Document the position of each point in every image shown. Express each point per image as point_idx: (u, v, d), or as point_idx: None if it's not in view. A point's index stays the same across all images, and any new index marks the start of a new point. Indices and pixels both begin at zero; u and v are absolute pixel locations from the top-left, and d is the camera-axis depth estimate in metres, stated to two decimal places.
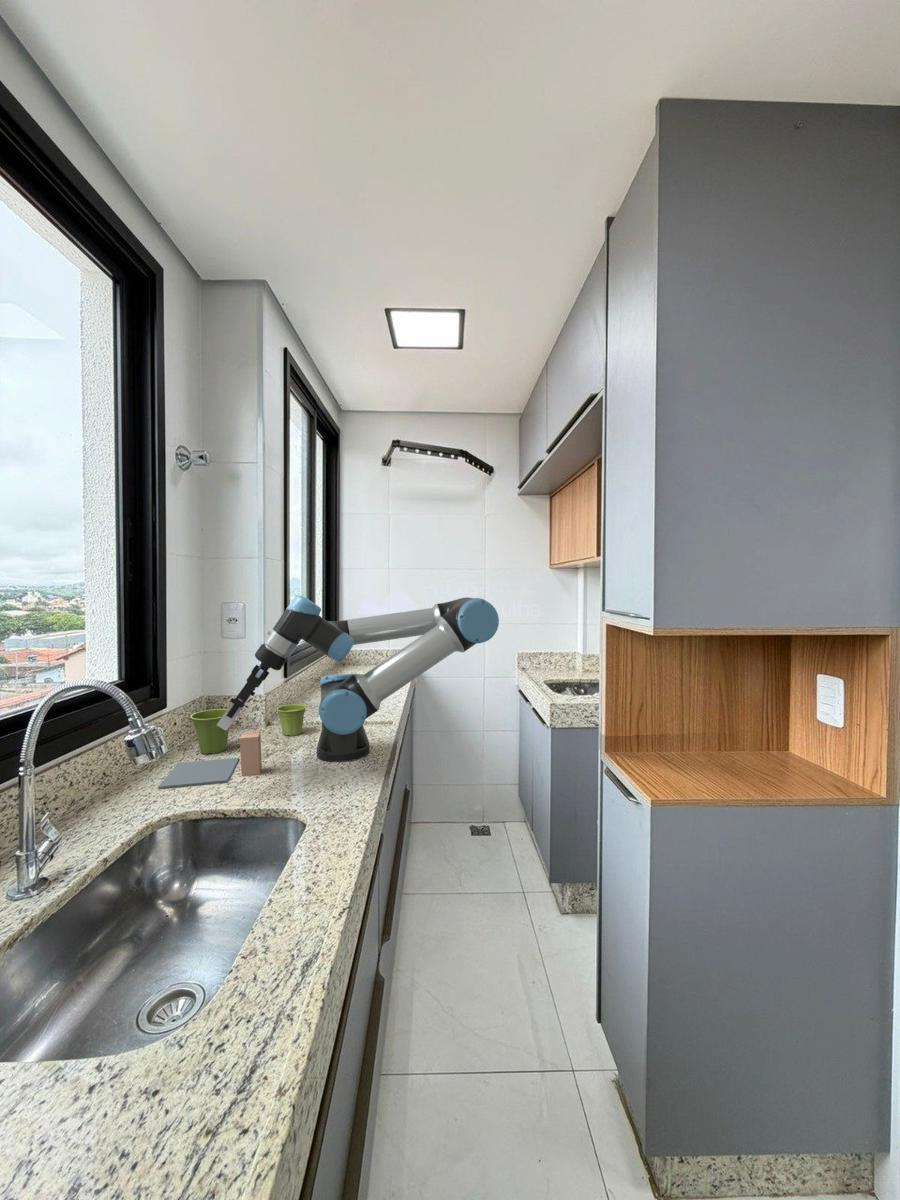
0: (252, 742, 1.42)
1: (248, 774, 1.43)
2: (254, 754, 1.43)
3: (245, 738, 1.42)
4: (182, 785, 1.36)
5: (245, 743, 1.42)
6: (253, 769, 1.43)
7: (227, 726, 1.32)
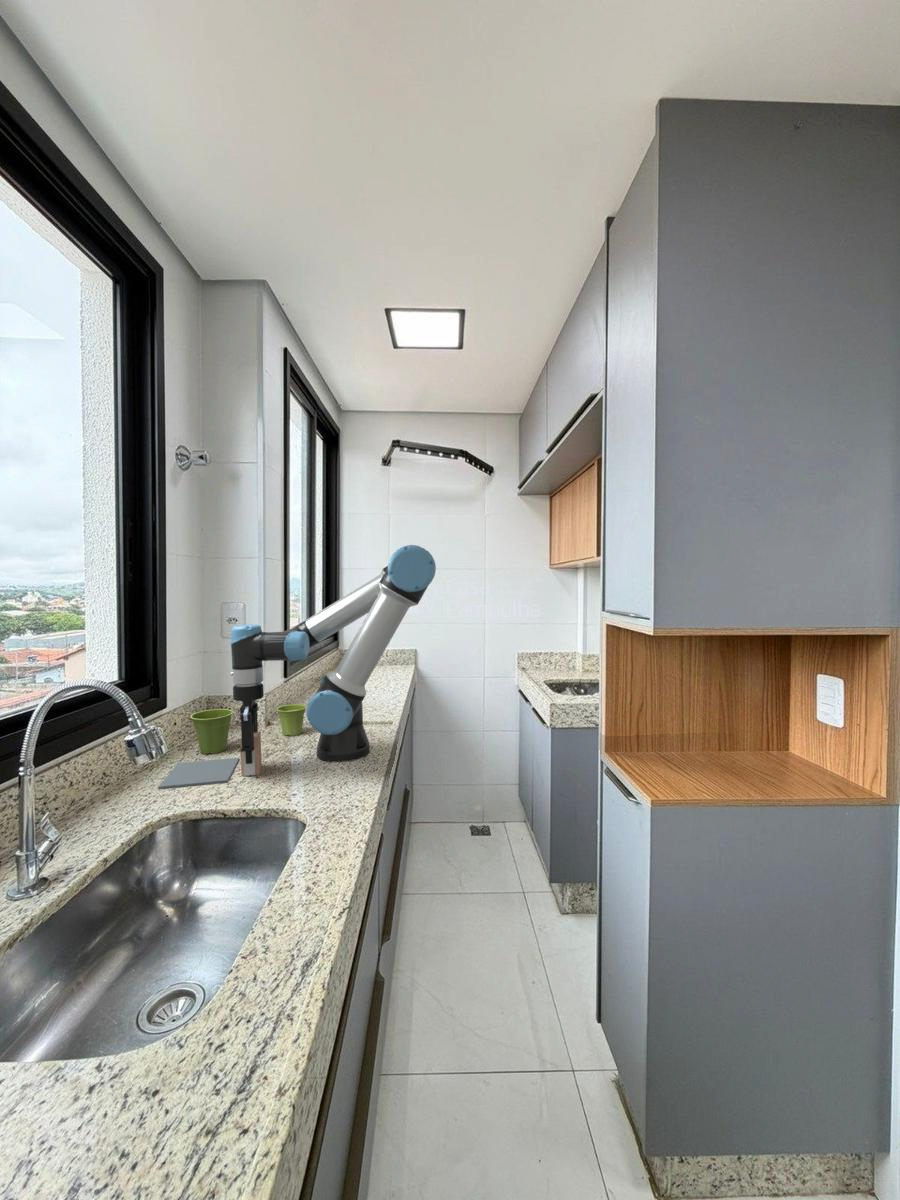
0: None
1: None
2: None
3: None
4: (182, 785, 1.36)
5: None
6: None
7: (253, 771, 1.42)
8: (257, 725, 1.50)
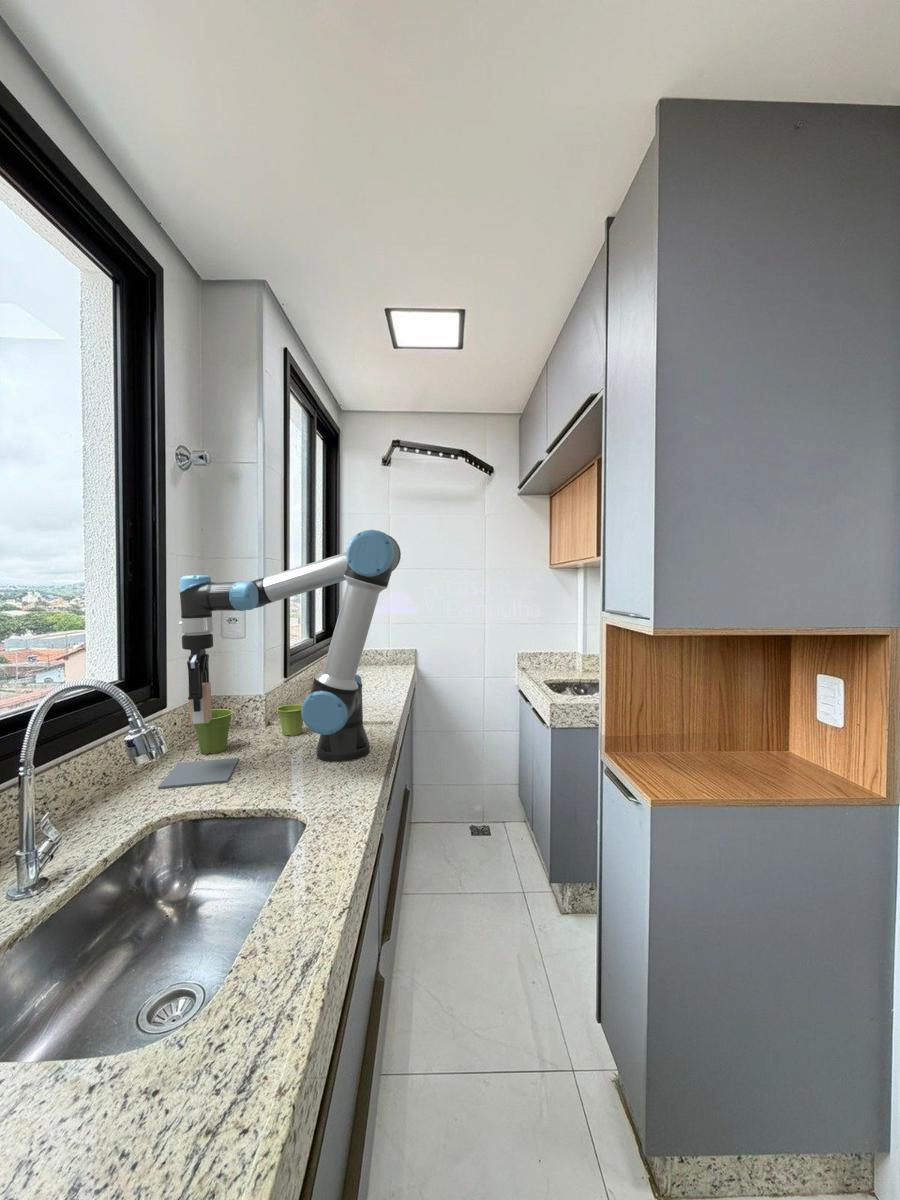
0: None
1: None
2: None
3: None
4: (182, 785, 1.36)
5: None
6: None
7: (202, 719, 1.44)
8: (208, 676, 1.52)
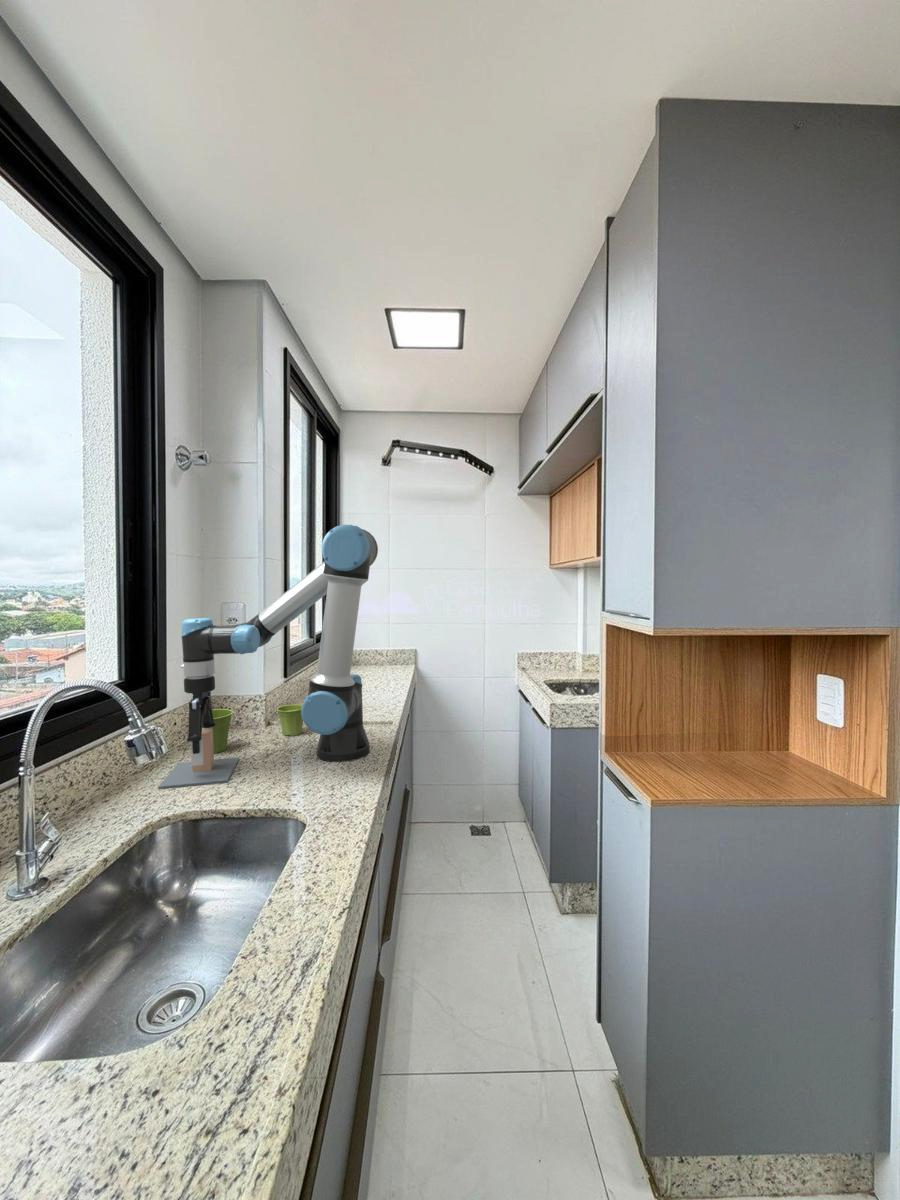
0: (203, 738, 1.45)
1: (199, 770, 1.45)
2: (205, 750, 1.45)
3: None
4: (182, 785, 1.36)
5: None
6: (204, 765, 1.45)
7: (201, 761, 1.41)
8: None
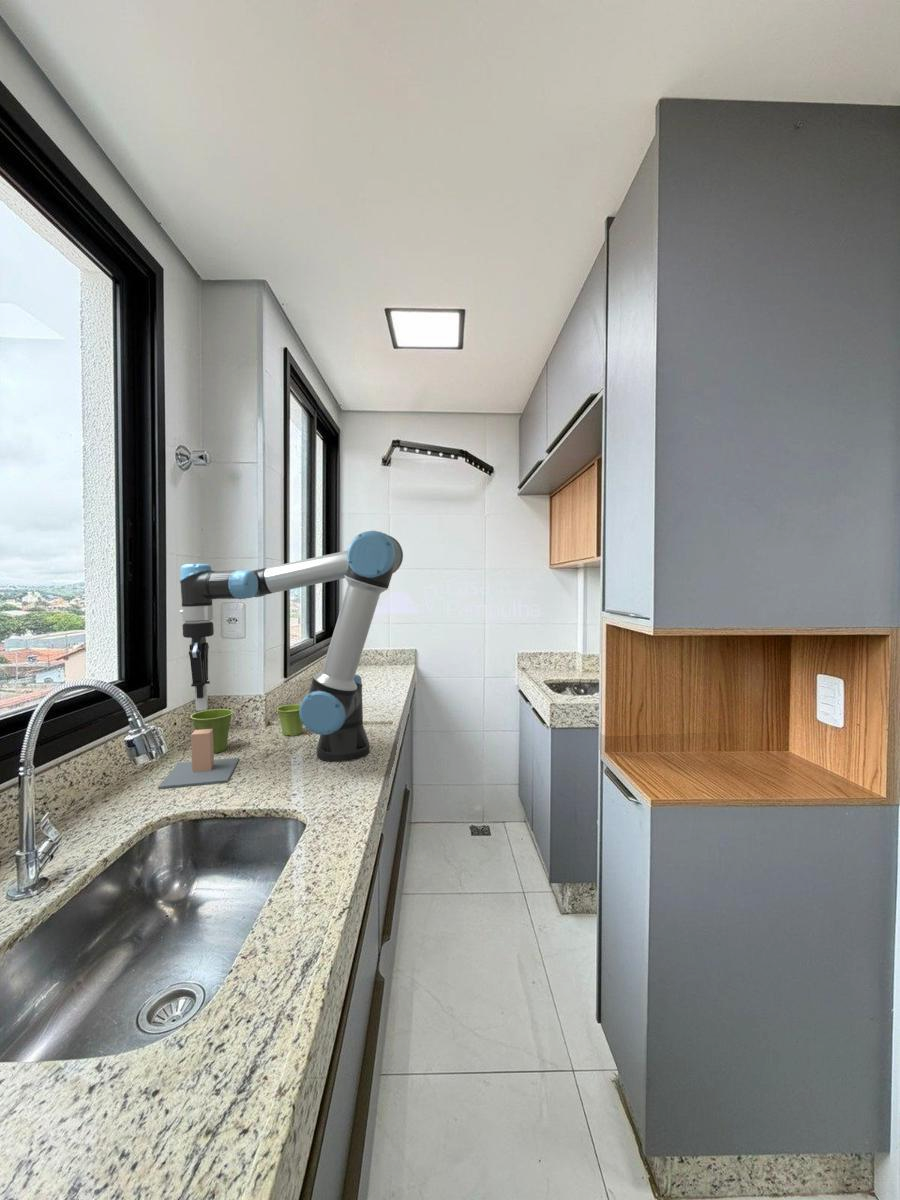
0: (203, 738, 1.45)
1: (199, 770, 1.45)
2: (205, 750, 1.45)
3: (196, 734, 1.44)
4: (182, 785, 1.36)
5: (196, 739, 1.44)
6: (204, 765, 1.45)
7: (205, 705, 1.47)
8: (207, 667, 1.51)
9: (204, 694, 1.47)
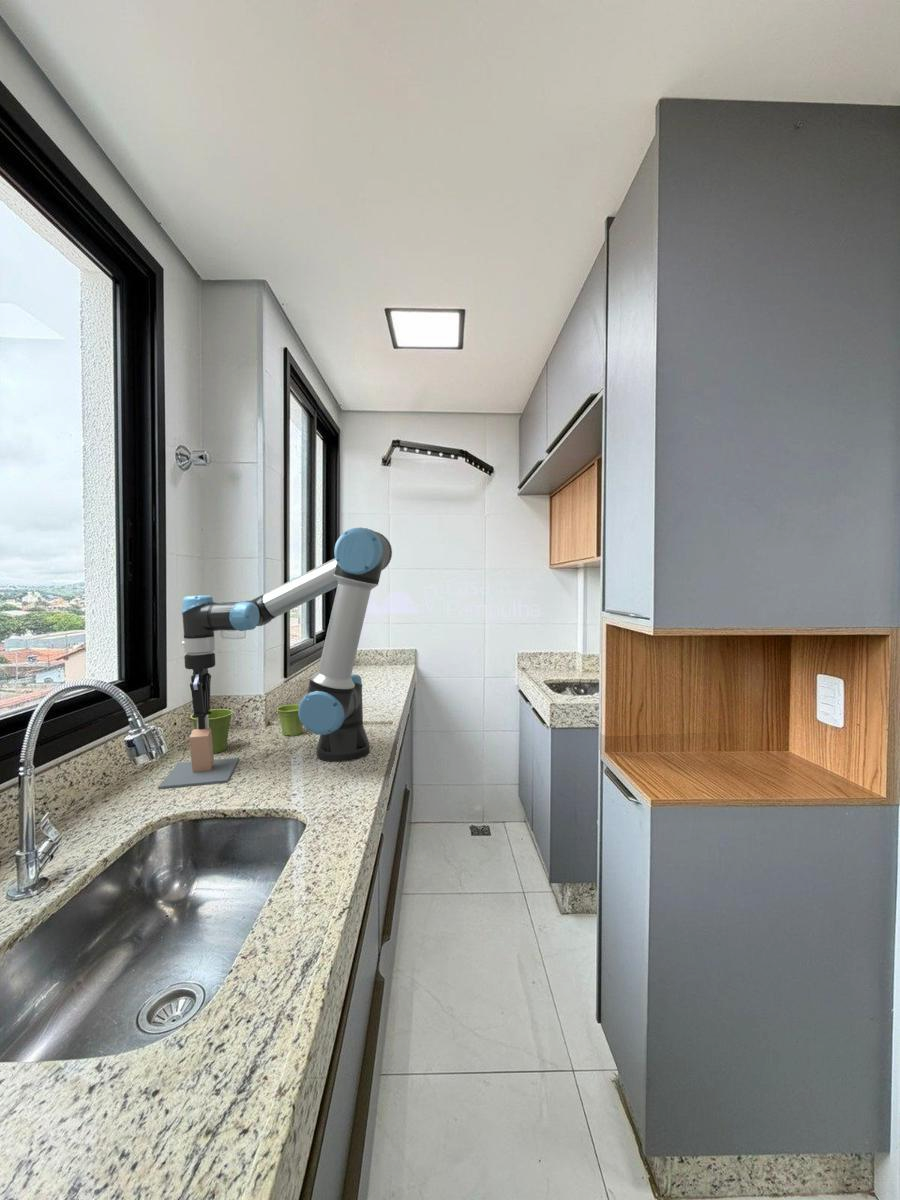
0: (202, 741, 1.43)
1: (199, 770, 1.45)
2: (204, 752, 1.44)
3: (194, 737, 1.42)
4: (182, 785, 1.36)
5: (195, 742, 1.43)
6: (204, 765, 1.45)
7: None
8: (209, 697, 1.52)
9: (206, 725, 1.48)
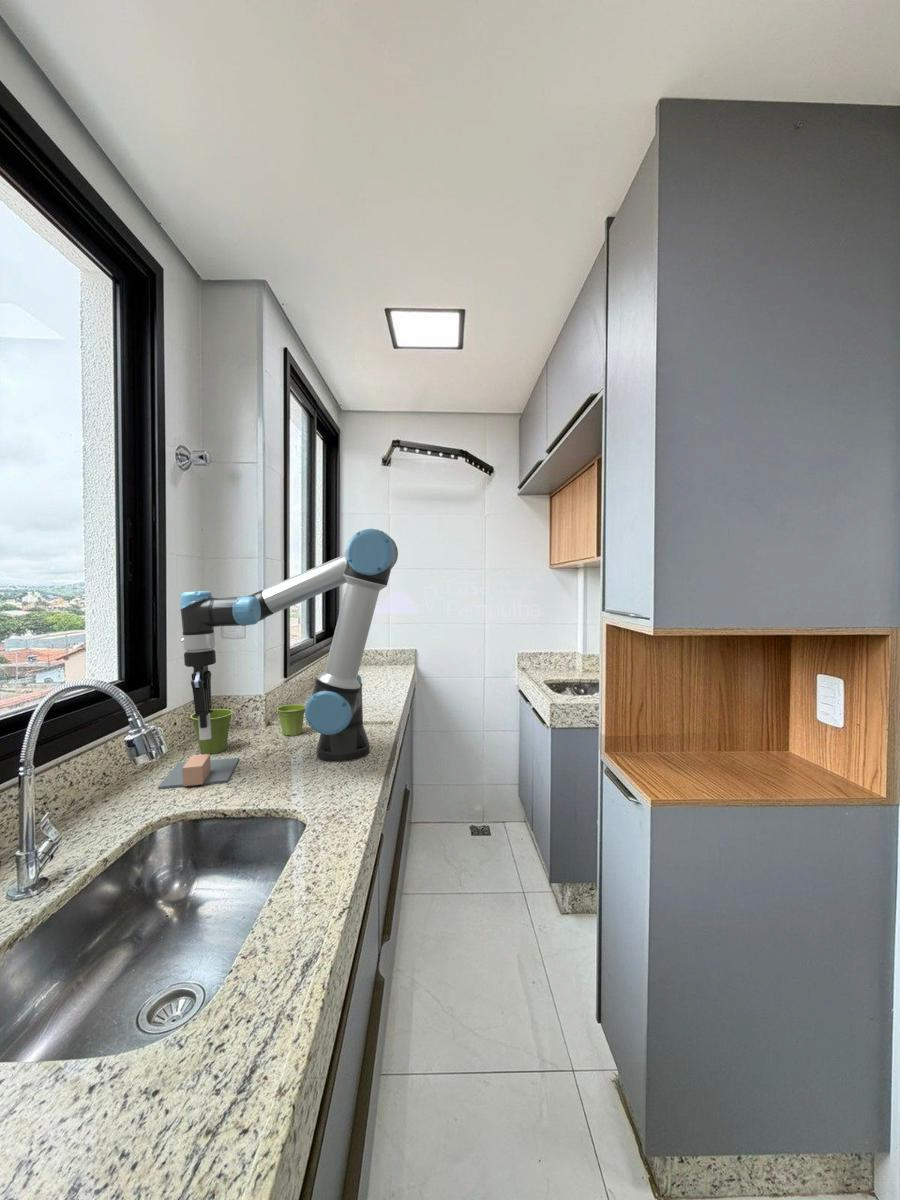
0: None
1: None
2: None
3: (189, 784, 1.35)
4: (182, 785, 1.36)
5: None
6: None
7: (208, 735, 1.44)
8: (210, 695, 1.49)
9: (207, 723, 1.44)
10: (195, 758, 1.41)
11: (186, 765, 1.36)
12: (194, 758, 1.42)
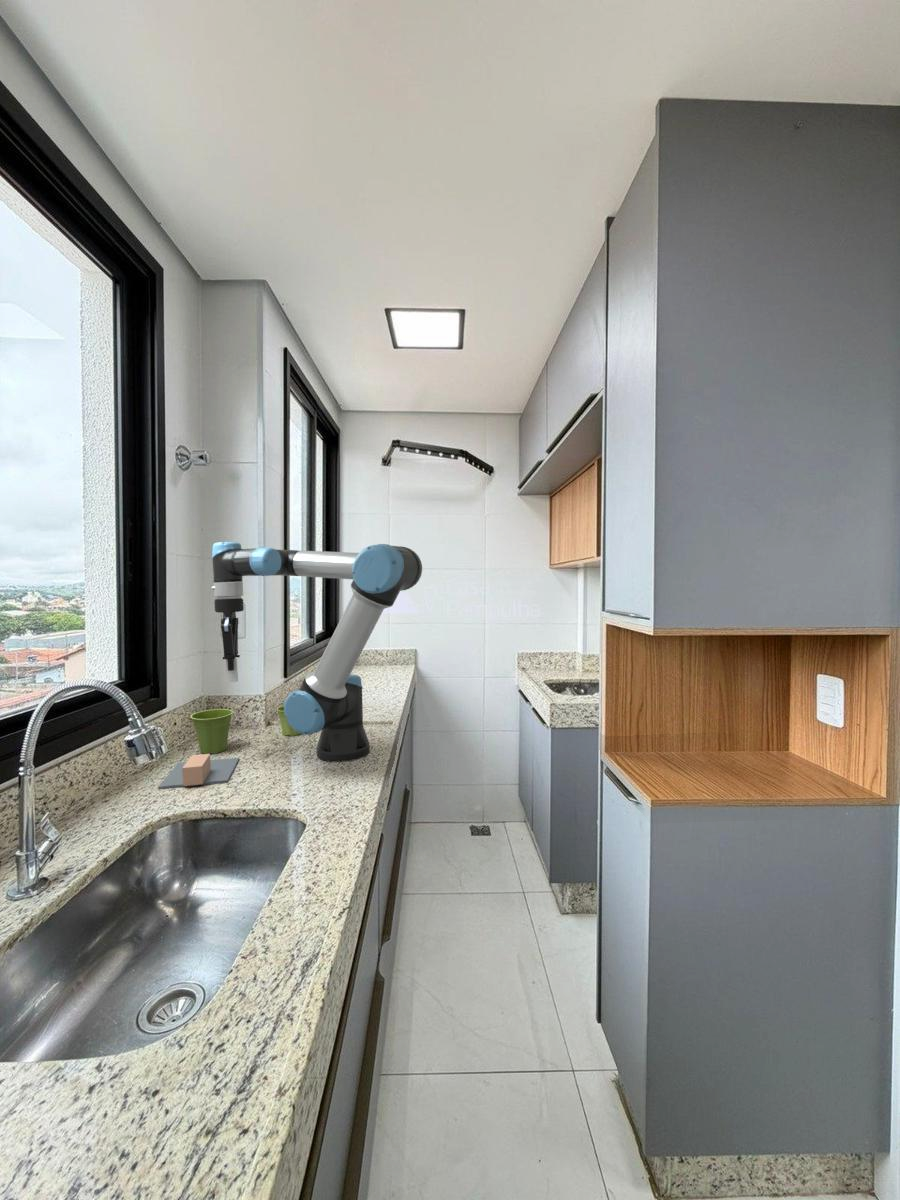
0: None
1: None
2: None
3: (189, 784, 1.35)
4: (182, 785, 1.36)
5: None
6: None
7: (235, 678, 1.54)
8: (237, 642, 1.58)
9: (234, 667, 1.54)
10: (195, 758, 1.41)
11: (186, 765, 1.36)
12: (194, 758, 1.42)
